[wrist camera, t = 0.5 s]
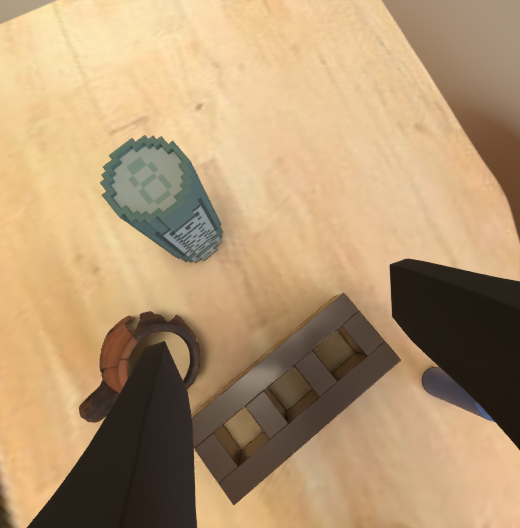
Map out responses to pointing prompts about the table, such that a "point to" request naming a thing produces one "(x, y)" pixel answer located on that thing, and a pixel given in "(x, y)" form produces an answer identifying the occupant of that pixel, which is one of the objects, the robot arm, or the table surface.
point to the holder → (301, 414)
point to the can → (162, 197)
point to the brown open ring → (119, 352)
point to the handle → (451, 391)
